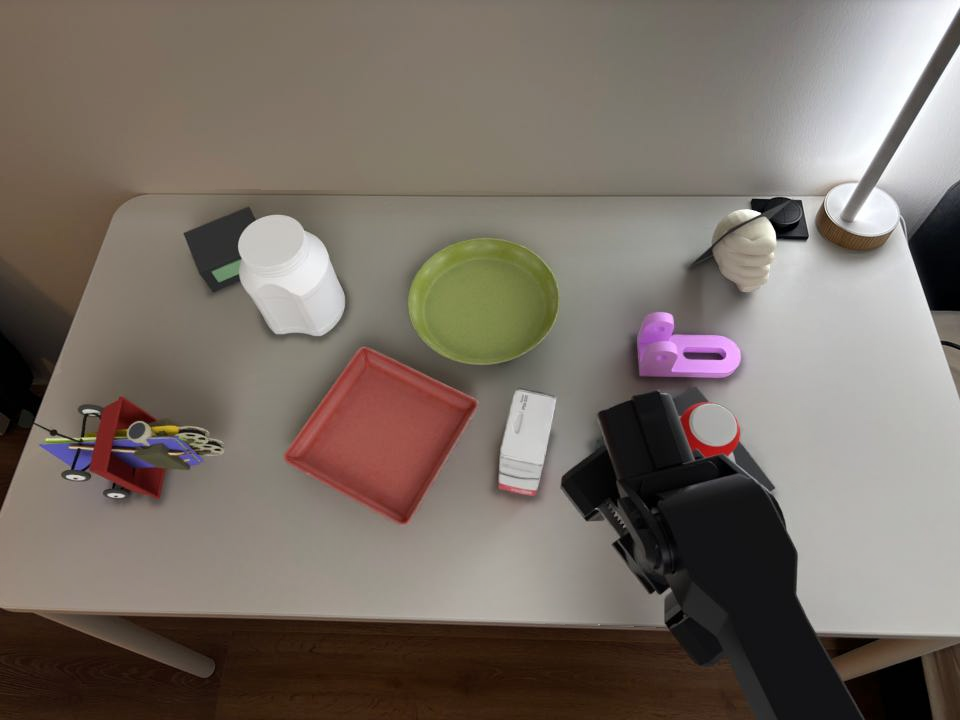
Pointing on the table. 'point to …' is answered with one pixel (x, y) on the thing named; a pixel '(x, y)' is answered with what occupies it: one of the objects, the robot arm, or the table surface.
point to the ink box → (525, 441)
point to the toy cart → (127, 448)
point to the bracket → (681, 351)
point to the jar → (290, 277)
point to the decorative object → (744, 247)
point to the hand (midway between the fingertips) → (638, 553)
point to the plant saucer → (382, 434)
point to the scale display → (219, 248)
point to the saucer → (483, 301)
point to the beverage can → (710, 429)
